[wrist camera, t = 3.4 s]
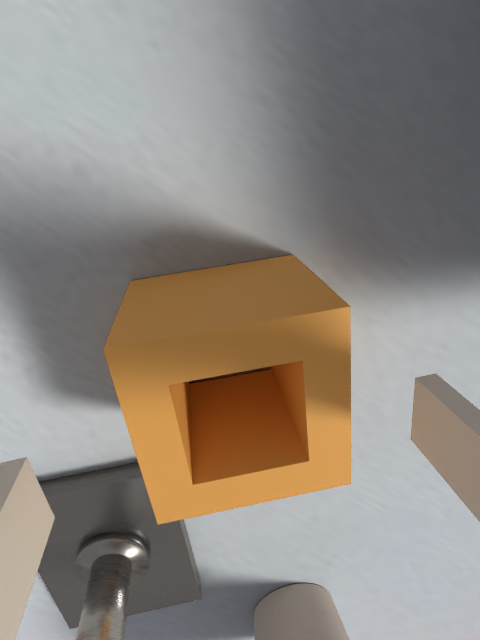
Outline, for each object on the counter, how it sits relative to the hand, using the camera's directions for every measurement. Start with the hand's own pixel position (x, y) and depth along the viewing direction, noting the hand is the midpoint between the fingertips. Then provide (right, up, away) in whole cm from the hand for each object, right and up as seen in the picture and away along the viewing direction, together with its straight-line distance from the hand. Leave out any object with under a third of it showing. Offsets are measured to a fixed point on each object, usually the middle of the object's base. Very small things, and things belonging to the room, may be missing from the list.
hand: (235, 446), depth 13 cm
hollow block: (-1, +3, +7) cm, 8 cm away
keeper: (-8, -10, +12) cm, 17 cm away
